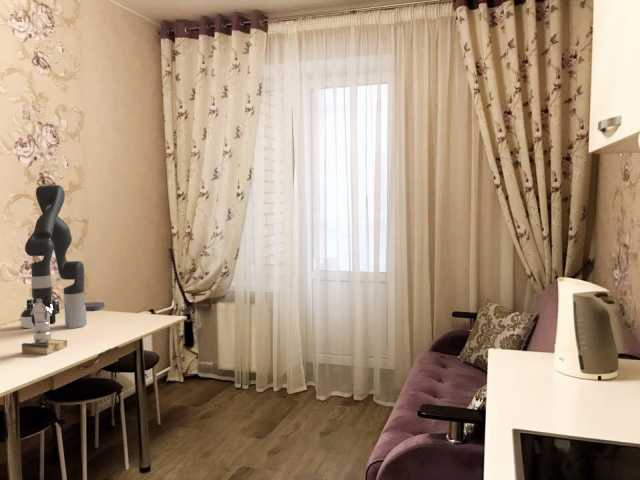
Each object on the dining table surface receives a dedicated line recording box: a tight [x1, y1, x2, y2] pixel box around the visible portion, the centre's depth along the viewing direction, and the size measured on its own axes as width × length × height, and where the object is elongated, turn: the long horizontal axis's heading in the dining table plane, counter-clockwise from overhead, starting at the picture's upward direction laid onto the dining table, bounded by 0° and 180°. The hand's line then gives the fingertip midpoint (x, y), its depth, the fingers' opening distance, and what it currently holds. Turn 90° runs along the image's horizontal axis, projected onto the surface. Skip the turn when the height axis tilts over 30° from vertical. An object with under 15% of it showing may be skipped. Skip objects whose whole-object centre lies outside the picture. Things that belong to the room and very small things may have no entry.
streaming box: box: [84, 301, 105, 312], centre depth 293 cm, size 13×13×5 cm
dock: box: [21, 338, 68, 356], centre depth 213 cm, size 12×12×4 cm
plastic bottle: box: [33, 298, 52, 343], centre depth 213 cm, size 6×7×20 cm
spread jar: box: [20, 304, 35, 330], centre depth 255 cm, size 12×11×12 cm
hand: (43, 323), depth 213 cm, fingers open, 8 cm apart
